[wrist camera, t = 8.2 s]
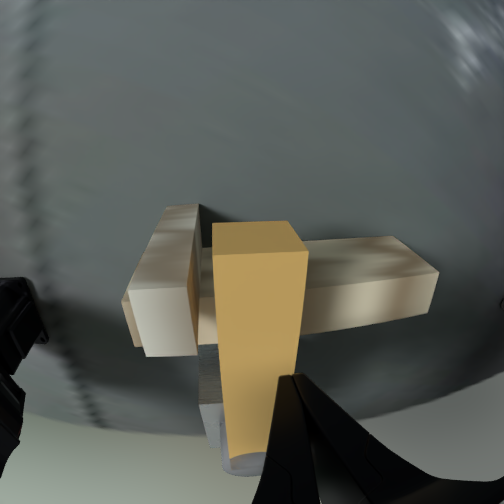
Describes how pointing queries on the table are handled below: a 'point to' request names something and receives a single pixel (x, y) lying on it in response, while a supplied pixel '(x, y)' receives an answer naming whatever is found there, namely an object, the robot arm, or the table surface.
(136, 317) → the grey-beige crossed blocks
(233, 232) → the bar
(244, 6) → the table surface
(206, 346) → the jamb post
